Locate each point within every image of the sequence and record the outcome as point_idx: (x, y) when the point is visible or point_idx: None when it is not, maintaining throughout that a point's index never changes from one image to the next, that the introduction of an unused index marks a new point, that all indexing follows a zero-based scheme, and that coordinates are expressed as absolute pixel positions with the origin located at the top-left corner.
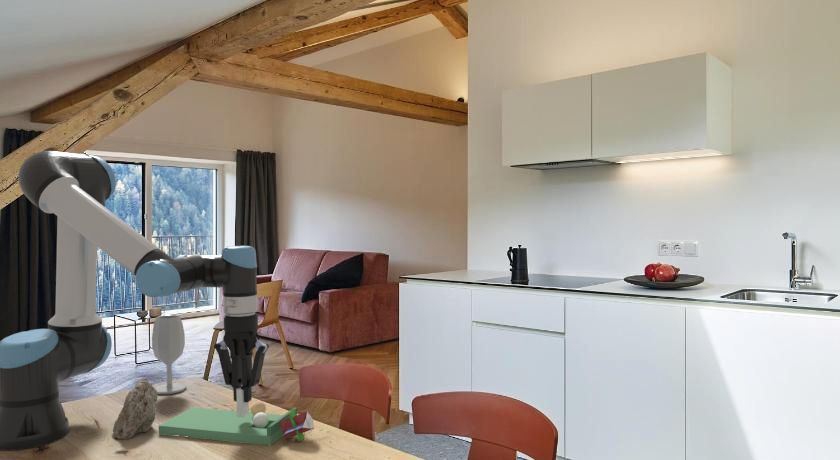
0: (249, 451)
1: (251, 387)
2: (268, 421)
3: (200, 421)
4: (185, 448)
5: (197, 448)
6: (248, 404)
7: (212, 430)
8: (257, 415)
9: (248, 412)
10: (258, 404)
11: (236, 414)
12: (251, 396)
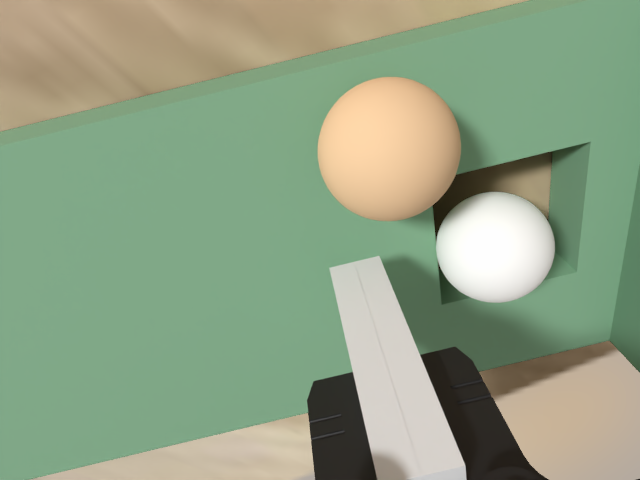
0: (532, 377)
1: (531, 467)
2: (496, 159)
3: (91, 375)
4: (259, 465)
5: (304, 447)
6: (399, 306)
7: (286, 414)
8: (506, 300)
9: (382, 267)
10: (431, 200)
11: (179, 183)
12: (479, 376)
